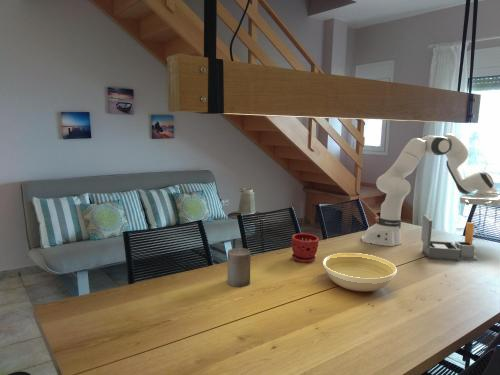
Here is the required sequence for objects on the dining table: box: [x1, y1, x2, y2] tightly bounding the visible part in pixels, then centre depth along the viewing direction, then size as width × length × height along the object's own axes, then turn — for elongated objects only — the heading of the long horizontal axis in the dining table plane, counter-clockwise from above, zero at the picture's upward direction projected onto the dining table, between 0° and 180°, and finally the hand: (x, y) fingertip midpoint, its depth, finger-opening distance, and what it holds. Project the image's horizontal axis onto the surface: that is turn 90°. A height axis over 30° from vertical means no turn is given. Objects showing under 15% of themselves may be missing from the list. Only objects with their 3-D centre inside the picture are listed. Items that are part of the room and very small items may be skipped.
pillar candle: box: [226, 247, 251, 288], centre depth 160 cm, size 10×10×15 cm
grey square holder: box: [454, 241, 478, 261], centre depth 200 cm, size 10×10×7 cm
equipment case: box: [420, 214, 460, 262], centre depth 200 cm, size 15×14×20 cm
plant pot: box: [291, 233, 320, 264], centre depth 190 cm, size 13×13×12 cm
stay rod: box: [464, 221, 475, 244], centre depth 208 cm, size 4×4×16 cm
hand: (476, 204), depth 214 cm, fingers open, 8 cm apart
